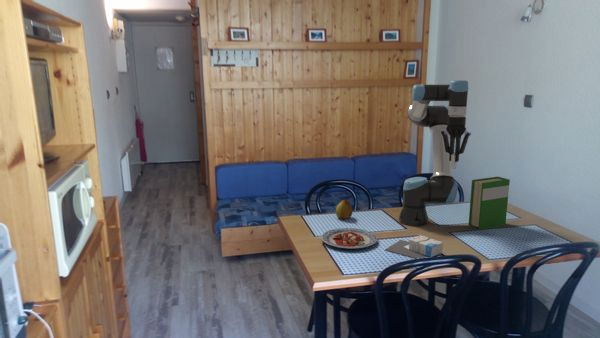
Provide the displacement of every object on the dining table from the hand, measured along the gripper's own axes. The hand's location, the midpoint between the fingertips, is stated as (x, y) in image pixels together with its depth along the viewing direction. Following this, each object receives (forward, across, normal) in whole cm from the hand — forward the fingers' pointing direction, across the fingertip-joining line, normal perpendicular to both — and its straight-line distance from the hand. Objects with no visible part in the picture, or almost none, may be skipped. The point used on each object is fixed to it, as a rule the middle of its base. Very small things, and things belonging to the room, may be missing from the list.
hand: (453, 168), depth 197 cm
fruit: (+35, -57, -3) cm, 67 cm away
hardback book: (+35, +7, +33) cm, 49 cm away
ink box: (+31, +4, -21) cm, 38 cm away
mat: (+34, -8, -22) cm, 41 cm away
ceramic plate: (+35, -35, -30) cm, 58 cm away
